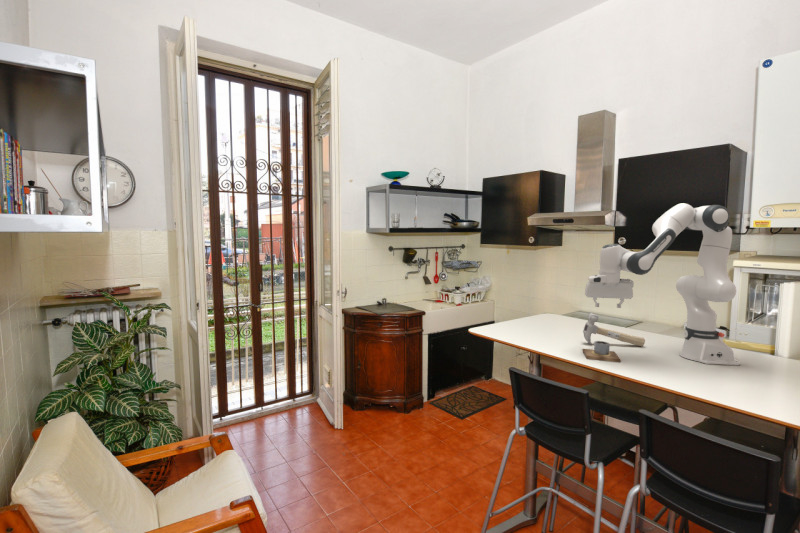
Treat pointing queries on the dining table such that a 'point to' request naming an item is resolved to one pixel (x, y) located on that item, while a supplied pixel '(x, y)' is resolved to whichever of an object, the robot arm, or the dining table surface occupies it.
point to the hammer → (608, 333)
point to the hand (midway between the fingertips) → (607, 307)
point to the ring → (601, 348)
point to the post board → (591, 355)
